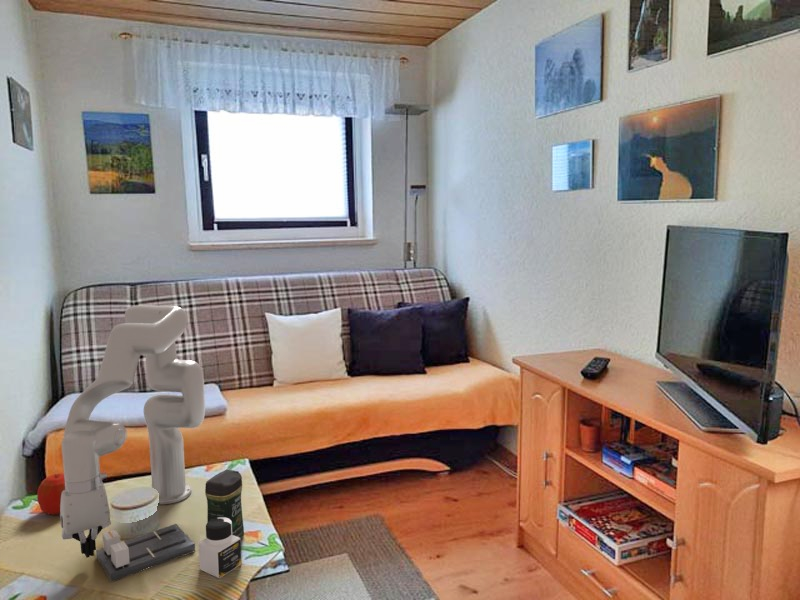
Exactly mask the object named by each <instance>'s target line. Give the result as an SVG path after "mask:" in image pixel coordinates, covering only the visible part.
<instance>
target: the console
mask: <svg viewBox="0 0 800 600" xmlns="http://www.w3.org/2000/svg"><path fill="white" fill-rule="evenodd" d="M123 541H124V542H125V544H126V545H127V546H128V548H129V562H130V563H129V564H126V565H124V566H121V567H118V568H116V567H115V565H114V564H113V562H112V561H111V555H107V553H106V552H105V550H104V549H103V547H102V548H99V549H96V550H95V554H96V556H95V557H96V559H97V561H98V562H100V563H99V564H100V566H101V568H102V569H103V571H104V572H105V574H106V576H107V577H108V579H109V581H110V582H111V583H112V582H115V581H118V580H120V579H123V578H126V577H129V576H131V574H132V575H134V574H136V572H137V573H140V572H142V571H144V570H143V569H145V570H147V569H146V568H148V567H150V568H152V567H151V566H153V567H156V566H158V565H161V564H163V563H166V562H169V561H171V559H172V560H174V558H175V559H177V558H180V557H183V556H185V554H186V555H188V554H191V553H194V552H195V551H196V543H195V542H194V541H193V540H192V539H191V538H190V537H189V535H187V533H185V532H184V531H183V530H182V528H181V527H180V526H179V525H178V524H177V523H174V524H171V525H167V526H165V527H162V528H159V529H156V530H154V531H153V530H152V531H150V532H148V533H144V534H142V535H138V536H135V537H133V538H129V539H126V540H123ZM193 551H194V552H193ZM155 565H156V566H155ZM148 569H149V568H148ZM141 570H142V571H141ZM139 571H140V572H139Z"/></svg>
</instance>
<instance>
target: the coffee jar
mask: <svg viewBox="0 0 800 600" xmlns="http://www.w3.org/2000/svg"><path fill="white" fill-rule="evenodd" d="M204 491H205V493H204V494H205V498H206V503H207V507H206V508H207V516H206V517H207V521H206V522H207V523H208V522H209V521H210V520H212V519H214V518H218V517H226V518H229V519H230V520H231V521H232V535H234V536H237V537H239V538H240V540H243V537H244V535H245V527H244V519H243V508H242V507H243V506H242V491H243V477H242V473H240V472H239V471H238V470H232V469H224V470H223V471H221V472H218V473H217V474H215V475H214V476H212V477H211V478H209V479H207V481H205V489H204ZM207 523H206V524H207Z"/></svg>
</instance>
